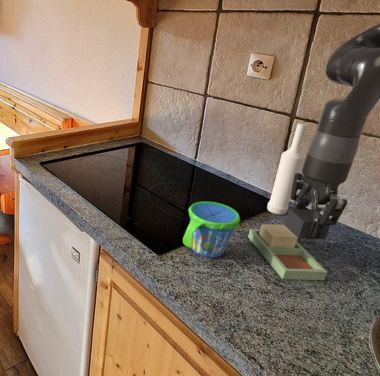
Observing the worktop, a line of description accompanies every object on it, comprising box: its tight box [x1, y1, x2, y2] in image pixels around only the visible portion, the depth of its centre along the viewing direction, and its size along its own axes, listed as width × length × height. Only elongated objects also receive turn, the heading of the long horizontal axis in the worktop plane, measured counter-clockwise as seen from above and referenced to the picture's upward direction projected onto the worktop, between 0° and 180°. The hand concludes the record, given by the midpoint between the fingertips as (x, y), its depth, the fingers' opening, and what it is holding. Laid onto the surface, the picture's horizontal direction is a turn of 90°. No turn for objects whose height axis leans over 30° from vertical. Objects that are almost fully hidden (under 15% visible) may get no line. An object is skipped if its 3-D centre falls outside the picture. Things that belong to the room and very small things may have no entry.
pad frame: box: [247, 228, 328, 281], centre depth 92 cm, size 9×17×2 cm, turn 179°
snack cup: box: [182, 201, 241, 259], centre depth 93 cm, size 16×10×10 cm
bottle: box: [266, 122, 308, 216], centre depth 108 cm, size 5×5×25 cm
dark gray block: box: [283, 208, 331, 240], centre depth 85 cm, size 6×6×4 cm
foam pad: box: [259, 223, 298, 248], centre depth 95 cm, size 6×6×4 cm
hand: (304, 229), depth 85 cm, fingers closed on dark gray block, 5 cm apart
